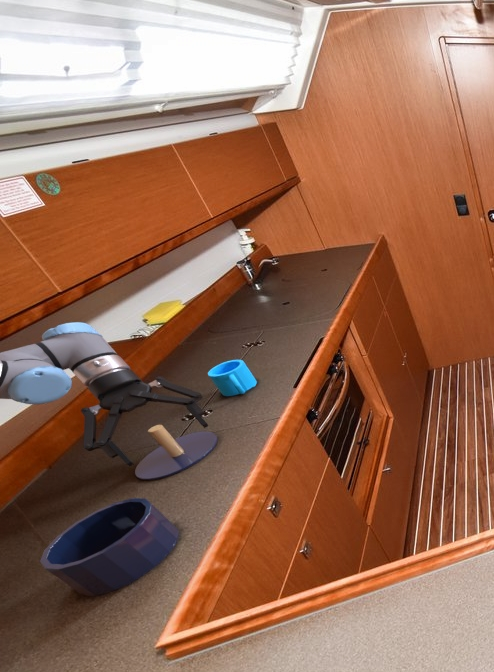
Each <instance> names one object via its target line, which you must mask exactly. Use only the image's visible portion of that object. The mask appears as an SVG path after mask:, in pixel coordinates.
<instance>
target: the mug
mask: <svg viewBox="0 0 494 672" xmlns="http://www.w3.org/2000/svg"><path fill="white" fill-rule="evenodd" d="M207 376H208V377H209V378H210V380H211V381H212V383H213V384H214V385H215V387H216V388H217V389H218V391H219V392H220V393H221V395H222V396H224V397H233V396H236V395H237V396H238V395H244V394H245V393H246V392H247V391H249V390H250V389H252V388H255V387H256V385H257V383H258V381H257V380H256V378H255V376H254V375H253V374H252V372H251V370H250V369H249V367H248V366H247V364H246V363H245V361H244V360H243V359H232V360H228V361H224V362H221V363H220V364H217V365H216V366H214V367H212V368H211V369H210V370H209V371H208V372H207Z"/></svg>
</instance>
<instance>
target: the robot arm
mask: <svg viewBox="0 0 494 672" xmlns="http://www.w3.org/2000/svg"><path fill="white" fill-rule="evenodd" d="M41 340H42V341H39V342H36V343H32V344H28V345H23V346H21V347H20V346H19V347H17V348H16V347H15V348H13V349H9V350H5V351H2V352H0V400H13V401H15V402H17V403H21V404H25V405H44V404H49V403H52V402H54V401H57V400H59V399H61V398H63V397H65V395H67V394H68V393H69V391H70V390H71V388H72V386H73V385H72V384H73V383H72V382H73V381H72V378H71V377H70V375H69V374H67V372H66V370H68V369H69V370H70V371H71V372H72V373H73V374H74V375H75V377H77V379H78V380H79V381H80V382H81V383H82V384H83V385H84V386H85V387H87V390H88V391H89V392H90V393H91V394H92V395H93V396H94V397H95V398H96V400H98V404H96V405H93V406H90V407H87V406H84V407H82V408H81V409H80V412H81V414H82V415H83V417H84V426H83V445H82V446H83V449H84V450H86V451H87V452H88V451H89V452H92V451H94V450H98V449H101V450H102V451H103V452H104V453H105V454H106V456H108V457H109V458H112V459H114V458H117V457H119V458H120V459H121V460H122V461H123V462H124V463H125V464H126V465H127V466H128V467H132V466H134V465H135V463H134V462H133V461H132V460H131V458H129V457H128V456H127V455H126V453H124V451H123V450H122V449H121V448H120V447H119V445H117V444H116V443H115V442H114V441H113V440H112V439H113V435H114V433H115V431H116V428H117V426H118V423H119V421H120V419H121V418H122V415H123V413H130V412H133V411H134V410H136V409H137V408H141V407H143V406H146V405H147V404H148V402H150V403H151V402H152V403H164V404H172V405H178V406H179V405H180V406H185V407H186V409H187V411H188V412H190V414H191V415H192V416H193V417H194V419H196V420H197V422H198V423H199V424H200V425H201V426H202V427H203V428H204V429H205V428H207V427H209V425H208V423H207V422H206V421H205V419H204V418H203V417H202V416H201V415H204V414H205V412H204V410H203V408H202V407H201V405H199V404H198V402H199V401H200V400H201V401H202V399H203V394H202V393H201V392H199V391H196V390H193V389H190V388H187V387H184V386H181V385H178V384H176V383H172V382H170V381H168V380H166V379H165V378H164V377H163V376H157V377H155V379H154V380H152V381H151V382H149V383H147V382H144V381H143V380H142V379H141V378H140V377H139V376H138V374H137V373H136V372H135V371H134V370H132V369H131V367H130V366H129V364H128V363H126V361H125V360H124V359H123V358H122V357H121V356H120V355H119V353H117V352H116V351H115V349H114V348H113V347H112V346H111V345H110V344H109V343H108V341H106V339H105V338H104V337H103V335H102V334H100V332H98V331H97V330H96V329H95V328H94V327H93V326H91V324H88V323H86V322H81V321H76V322H75V321H74V322H66V323H61V324H59V325H56V326H55V327H51V328H49V329H47V330H46V331H45V332H43V334H42V335H41ZM153 388H157V389H162V388H163V389H165V390H167V391H170V392H173V393H176V394H180V395H183V396H185V397H181V396H175V395H174V396H173V395H166V394H161V393H160V394H159V393H155V392H152V390H153ZM187 397H188V398H187ZM101 410H106V411H109V412H108V417H107V419H106V421H105V424H104V426H103V428H102V431H101V433H100V436H99V438H98V440H97V416H99V414H100V411H101Z"/></svg>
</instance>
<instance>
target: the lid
mask: <svg viewBox="0 0 494 672" xmlns="http://www.w3.org/2000/svg"><path fill="white" fill-rule="evenodd" d="M147 432H148V433H149V434H150V435H151V437H153V439H154V440H155V441H156V442H157V443H158V445H160V446H158V447H157V448H155V449H154V450H153V451H151V452H150V453H149V454H147V455H146V456H145V457H144V458H142V459H141V460H140V461H139V463H138V464H137V466H136V467H135V470H134V474H135V476H136V477H137V478H138V479H139V480H142V481H154V480H161V479H165V478H168V477H170V476H173V475H176V474H178V473H180V472H182V471H185V470H186V469H189V468H191V467H192V466H194V465H196V464H197V463H199V462H200V461H201V460H203V459H205V458H206V457H207V456H208V455H209V454H210V453H212V451H213V450H214V449H215V447H216V446H217V444H218V440H219V437H218V436H217V434H215V433H214V432H211V431H197V432H191V433H188V434H185V435H181V436H179V437H176V438H174V437H173V436H172V435H171V433H170V432H169V431H168V430H167V429H166V428H165V426H164V425H162V424H156V425H153V426H152V427H150V428H149V429H148V430H147Z"/></svg>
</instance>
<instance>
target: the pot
mask: <svg viewBox="0 0 494 672" xmlns="http://www.w3.org/2000/svg"><path fill="white" fill-rule="evenodd" d="M179 538H180V531H179V528H178V527H176V525H174V524H173V523H172V522H171V521H170V520H169V519H168V518H167V517H166V516H165V515H164V514H163V513H162V512H161V511H160V510H159V509H158V508H157V507H156V506H155V505H154V504H153V503H152V502H150V501H149V499H147V498H140V497H133V498H129V499H125V500H120V501H116V502H114V503H111V504H109V505H107V506H104V507H101V508H100V509H97V510H95V511H93V512H92V513H90V514H88V515H86V516H84V517H83V518H81V519H79V520H78V521H75V522H74V523H73V524H71V525H70V526H68V528H66V529H65V530H63V531H61V533H59V534H58V535H57V536H55V538H54V539H53V540H52V541H51V542H50V543H49V544H48V546H47V547H46V548H45V549H44V551H43V553H42V555H41V558H40V560H39V563H40V564H41V565H42V567H43V568H44V569H45V570H46V571H47V572H49V573H50V574H52V575H53V576H55V577H56V578H58V579H59V580H60V581H62V582H63V583H65V584H66V585H68V586H69V587H70V588H72V589H74V590H75V591H76V592H78V593H79V594H80V595H83V596H88V597H96V596H101V595H105V594H109V593H113V592H115V591H118V590H120V589H122V588H124V587H126V586H129V584H132V583H134V582H135V581H137V580H139V579H140V578H142V577H143V576H145V575H146V574H148V573H150V571H152V570H153V569H155V568H156V566H158V565H160V563H162V561H164V559H165V558H167V556H169V554H170V553H171V552H172V551H173V550H174V548H175V547H176V545H177V543H178V541H179Z"/></svg>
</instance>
